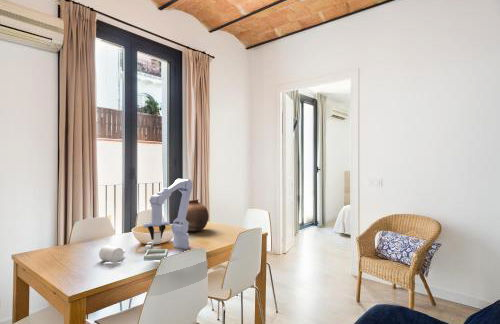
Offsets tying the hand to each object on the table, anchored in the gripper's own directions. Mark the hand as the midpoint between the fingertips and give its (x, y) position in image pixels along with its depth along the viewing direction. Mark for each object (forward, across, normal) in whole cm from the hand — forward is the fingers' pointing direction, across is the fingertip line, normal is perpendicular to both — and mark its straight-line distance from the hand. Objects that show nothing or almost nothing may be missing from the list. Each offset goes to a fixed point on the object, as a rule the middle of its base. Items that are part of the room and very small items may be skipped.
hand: (156, 238), depth 171 cm
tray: (+10, 0, 0) cm, 10 cm away
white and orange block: (+2, 0, 0) cm, 3 cm away
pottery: (+11, -44, -47) cm, 65 cm away
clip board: (+10, 0, -13) cm, 17 cm away
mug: (+11, +21, -6) cm, 25 cm away
